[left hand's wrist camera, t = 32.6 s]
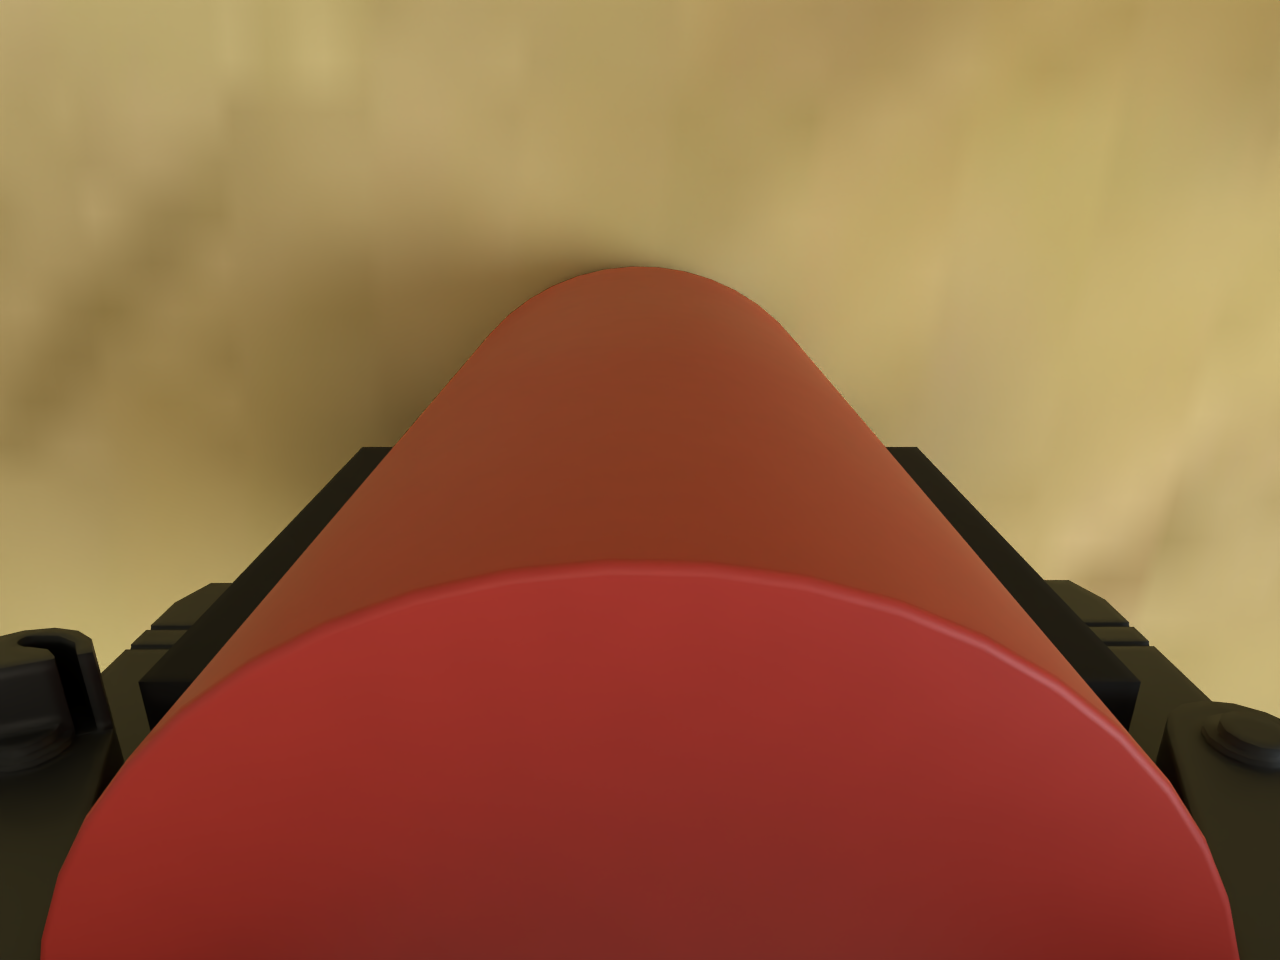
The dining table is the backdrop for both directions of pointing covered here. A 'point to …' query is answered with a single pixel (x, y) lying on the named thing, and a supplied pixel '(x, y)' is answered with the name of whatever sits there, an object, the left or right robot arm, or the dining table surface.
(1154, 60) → the dining table surface
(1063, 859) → the can
